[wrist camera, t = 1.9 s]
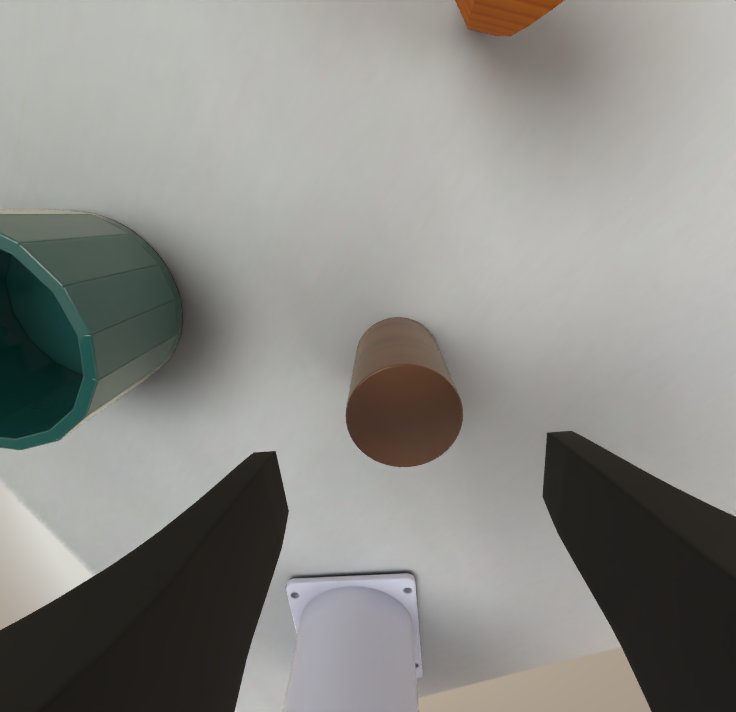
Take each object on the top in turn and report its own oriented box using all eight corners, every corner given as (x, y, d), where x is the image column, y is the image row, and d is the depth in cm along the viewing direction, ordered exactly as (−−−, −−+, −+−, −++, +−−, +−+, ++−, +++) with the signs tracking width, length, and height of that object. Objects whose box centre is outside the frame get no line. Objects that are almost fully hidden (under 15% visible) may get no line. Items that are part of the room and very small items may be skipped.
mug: (132, 186, 16) (2, 172, 11) (210, 359, 19) (139, 421, 13) (-81, 258, 18) (-295, 279, 12) (20, 410, 20) (-117, 485, 15)
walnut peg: (439, 390, 19) (464, 463, 14) (360, 396, 19) (352, 471, 14) (436, 313, 18) (462, 359, 12) (351, 321, 18) (338, 369, 12)
